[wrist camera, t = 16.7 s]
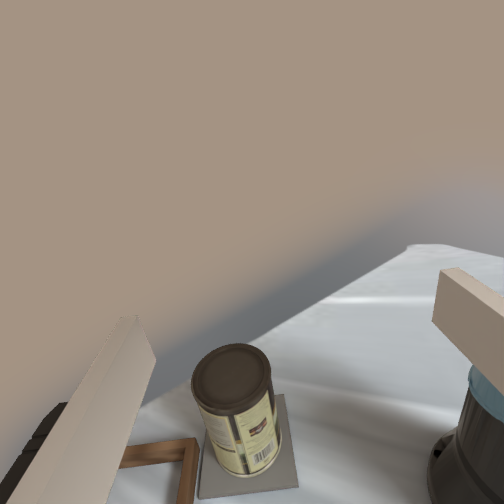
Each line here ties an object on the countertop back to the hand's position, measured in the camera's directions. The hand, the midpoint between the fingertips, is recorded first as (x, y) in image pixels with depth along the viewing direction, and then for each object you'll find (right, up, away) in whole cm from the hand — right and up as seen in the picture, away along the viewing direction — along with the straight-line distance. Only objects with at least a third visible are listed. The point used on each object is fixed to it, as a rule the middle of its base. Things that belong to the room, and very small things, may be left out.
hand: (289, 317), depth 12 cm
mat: (-2, -26, +29) cm, 39 cm away
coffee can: (-2, -25, +29) cm, 39 cm away
